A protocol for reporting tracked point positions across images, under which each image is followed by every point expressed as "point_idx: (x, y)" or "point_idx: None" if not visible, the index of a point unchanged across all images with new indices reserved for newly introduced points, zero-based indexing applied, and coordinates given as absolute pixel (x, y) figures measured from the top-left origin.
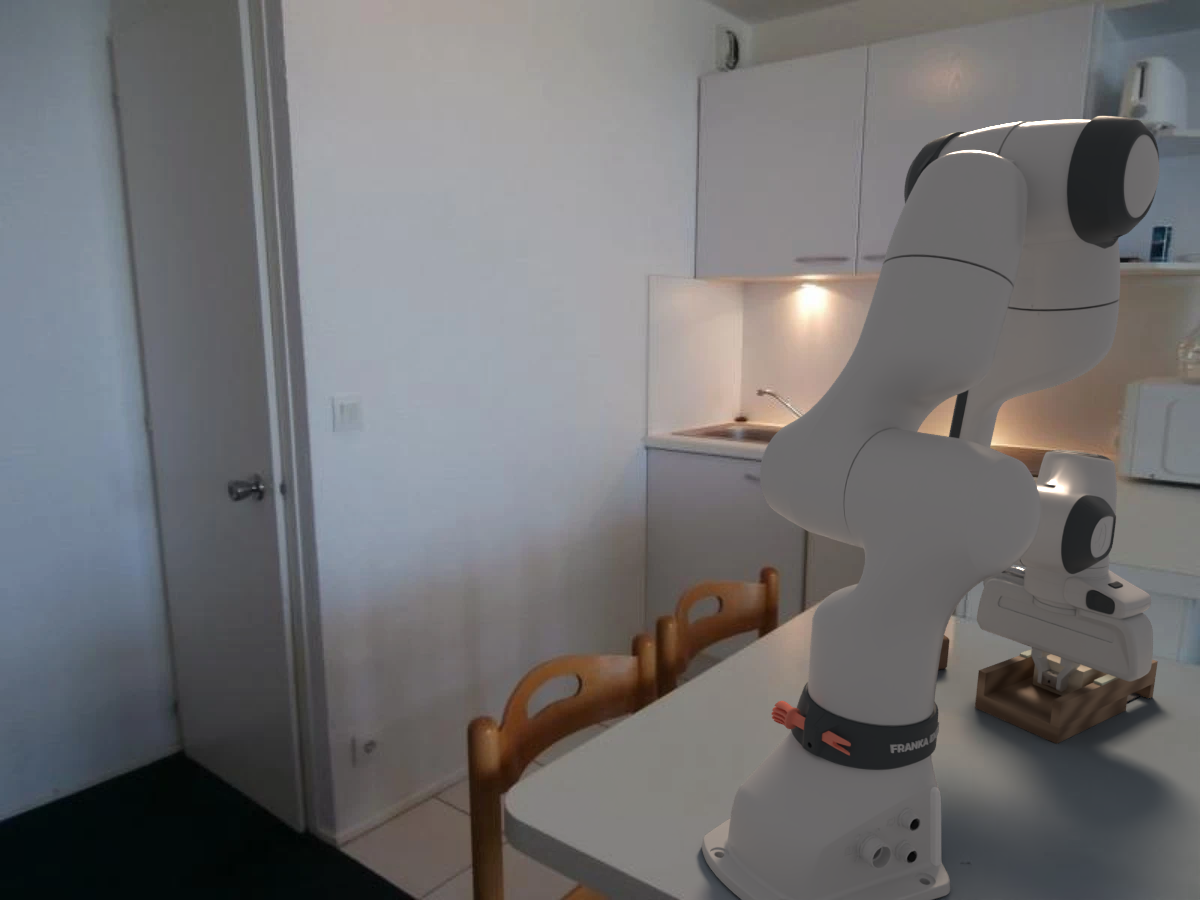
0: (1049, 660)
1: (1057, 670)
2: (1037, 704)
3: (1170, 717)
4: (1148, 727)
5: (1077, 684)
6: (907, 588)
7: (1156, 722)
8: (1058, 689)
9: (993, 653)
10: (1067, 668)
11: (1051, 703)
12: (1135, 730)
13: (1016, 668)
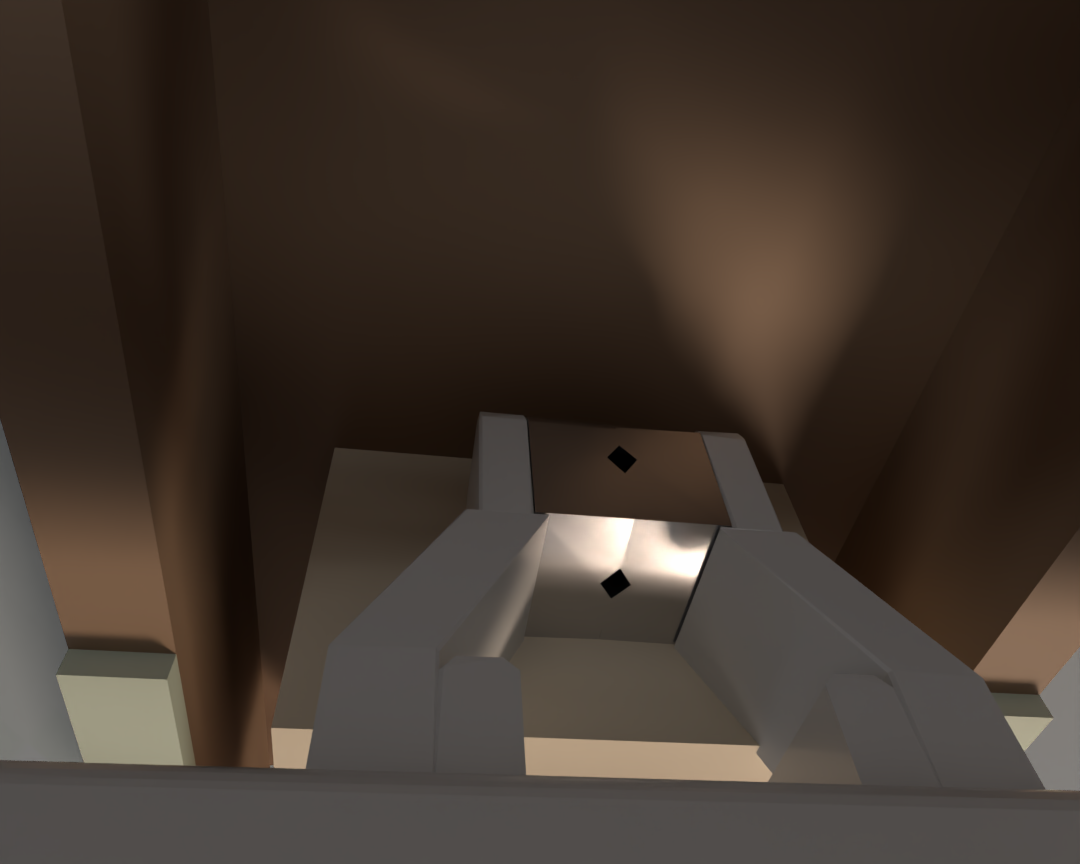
0: (725, 736)
1: (600, 652)
2: (600, 48)
3: (58, 745)
4: (11, 575)
5: (355, 576)
6: None
7: (44, 657)
8: (497, 415)
9: (1070, 760)
10: (389, 643)
11: (500, 220)
12: (10, 482)
13: (1013, 488)
